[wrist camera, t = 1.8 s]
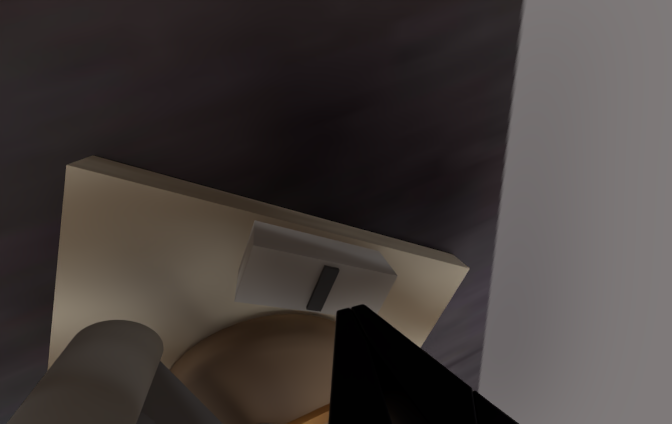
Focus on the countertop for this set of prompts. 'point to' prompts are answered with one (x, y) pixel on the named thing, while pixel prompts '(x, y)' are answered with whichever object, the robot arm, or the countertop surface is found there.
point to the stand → (224, 262)
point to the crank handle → (190, 376)
